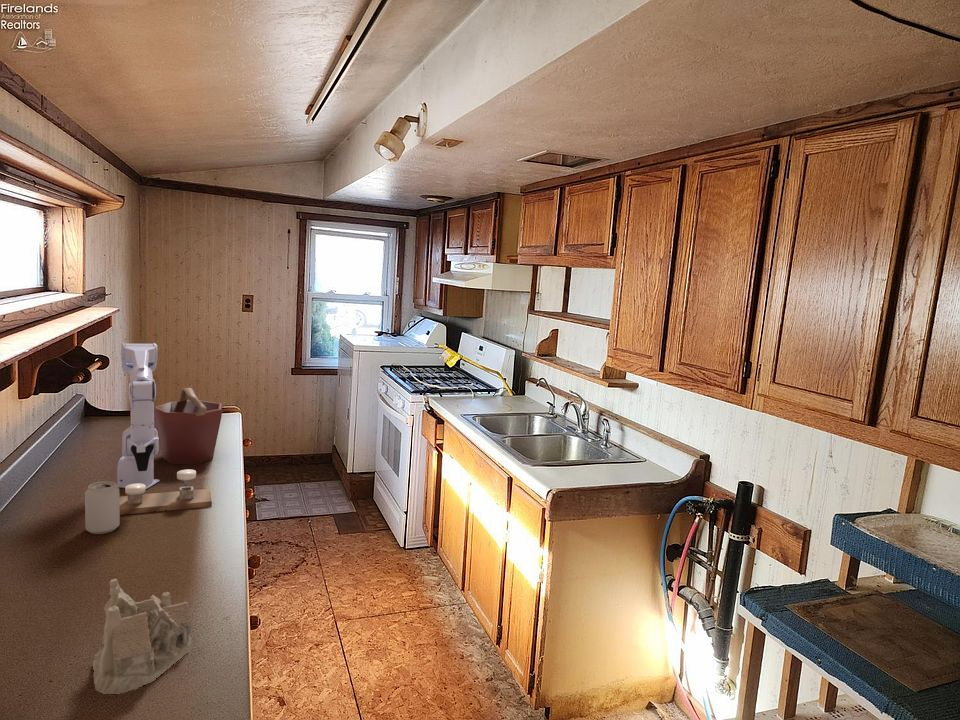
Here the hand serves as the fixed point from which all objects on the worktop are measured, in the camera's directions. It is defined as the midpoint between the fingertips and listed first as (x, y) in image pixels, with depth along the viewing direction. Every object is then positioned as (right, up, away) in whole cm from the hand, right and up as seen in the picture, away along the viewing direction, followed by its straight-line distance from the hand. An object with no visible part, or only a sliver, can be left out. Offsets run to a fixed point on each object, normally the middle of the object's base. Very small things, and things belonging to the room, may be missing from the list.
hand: (142, 470), depth 173 cm
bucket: (-10, -4, +47) cm, 48 cm away
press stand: (+4, -10, +3) cm, 11 cm away
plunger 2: (+10, -5, +6) cm, 12 cm away
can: (-2, -13, -15) cm, 20 cm away
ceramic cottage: (+37, -22, -66) cm, 78 cm away
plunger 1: (-2, -9, 0) cm, 9 cm away
